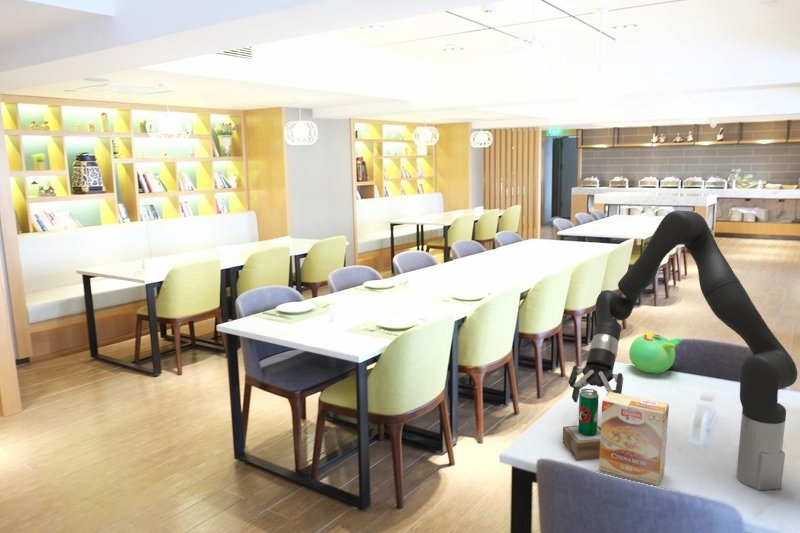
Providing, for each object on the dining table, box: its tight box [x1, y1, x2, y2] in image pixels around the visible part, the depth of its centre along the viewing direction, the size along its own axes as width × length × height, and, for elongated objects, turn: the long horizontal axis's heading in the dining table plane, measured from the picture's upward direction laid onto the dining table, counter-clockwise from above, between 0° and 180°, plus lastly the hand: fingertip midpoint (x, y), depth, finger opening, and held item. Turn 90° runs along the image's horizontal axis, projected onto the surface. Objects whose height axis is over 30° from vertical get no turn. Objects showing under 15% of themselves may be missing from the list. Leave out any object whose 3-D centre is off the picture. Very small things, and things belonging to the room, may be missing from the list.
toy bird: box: [628, 331, 683, 374], centre depth 227 cm, size 18×17×15 cm
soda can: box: [577, 388, 599, 435], centre depth 168 cm, size 5×5×12 cm
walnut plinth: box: [562, 425, 601, 461], centre depth 170 cm, size 10×10×5 cm
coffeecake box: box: [598, 392, 670, 486], centre depth 157 cm, size 15×7×20 cm, turn 56°
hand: (590, 404), depth 169 cm, fingers open, 8 cm apart
